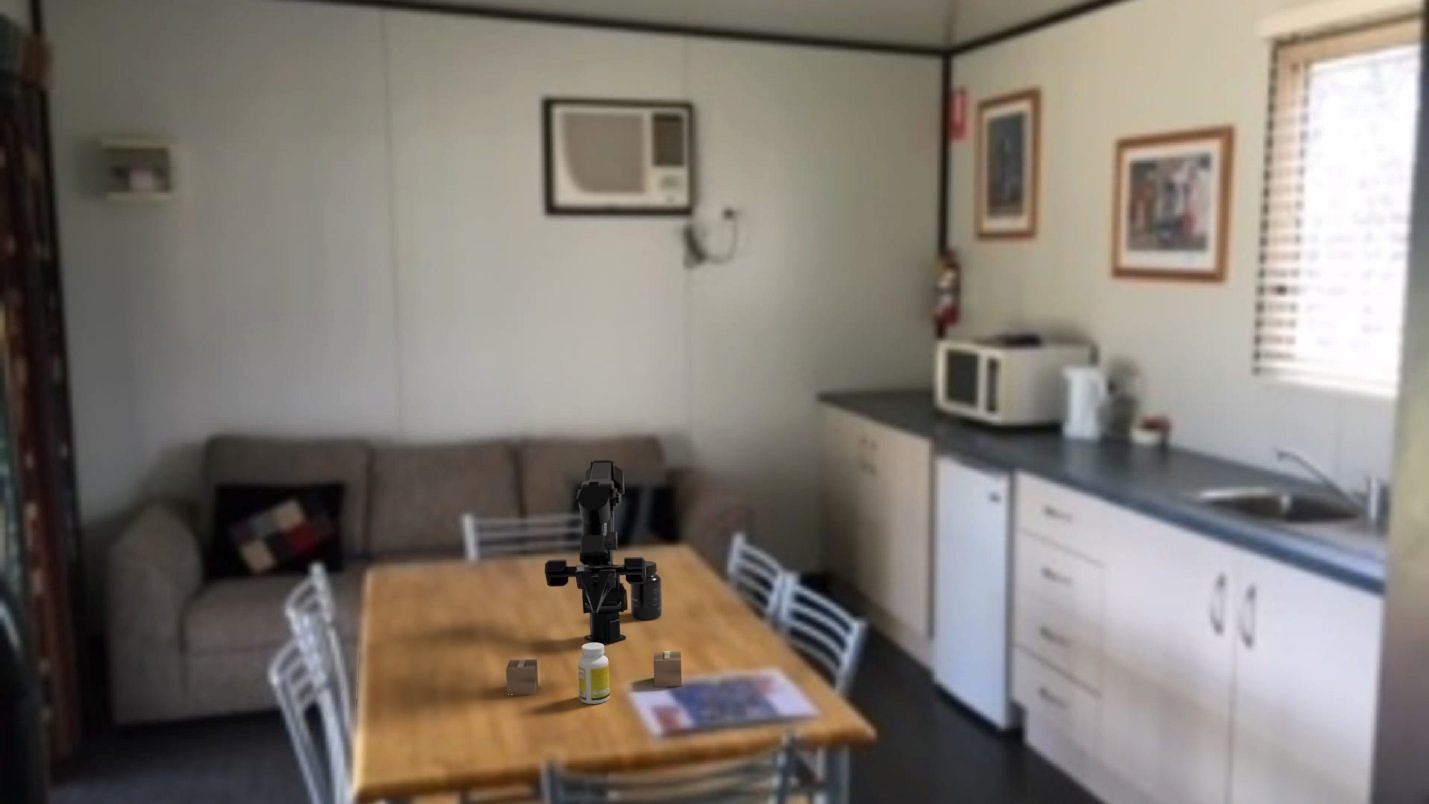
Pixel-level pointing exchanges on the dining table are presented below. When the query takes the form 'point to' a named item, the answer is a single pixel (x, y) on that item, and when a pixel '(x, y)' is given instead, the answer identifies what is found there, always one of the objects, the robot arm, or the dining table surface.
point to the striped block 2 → (667, 669)
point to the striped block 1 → (522, 677)
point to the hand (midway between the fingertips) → (594, 611)
